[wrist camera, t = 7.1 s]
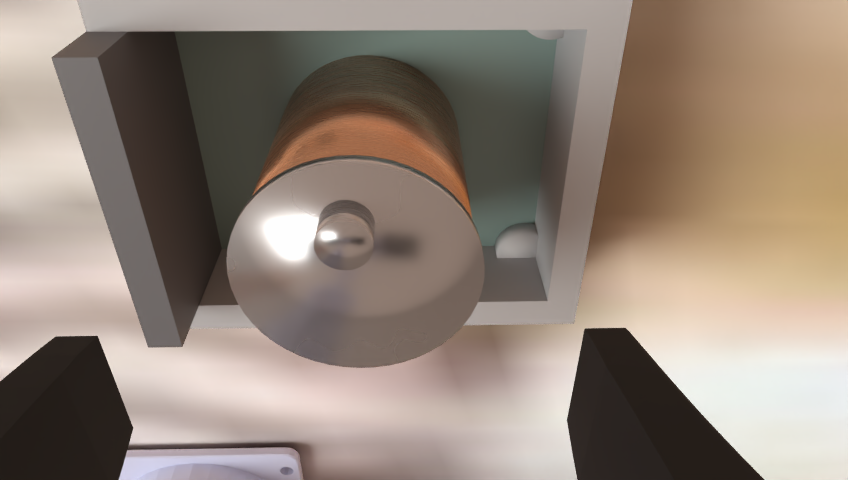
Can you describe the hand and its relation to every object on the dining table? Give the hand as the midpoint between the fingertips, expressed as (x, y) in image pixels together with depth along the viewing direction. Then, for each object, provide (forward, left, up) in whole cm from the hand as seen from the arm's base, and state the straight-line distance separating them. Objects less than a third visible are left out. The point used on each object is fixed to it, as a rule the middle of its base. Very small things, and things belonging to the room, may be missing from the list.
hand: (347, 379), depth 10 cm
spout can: (0, 0, -8) cm, 8 cm away
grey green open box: (0, 0, -9) cm, 9 cm away
